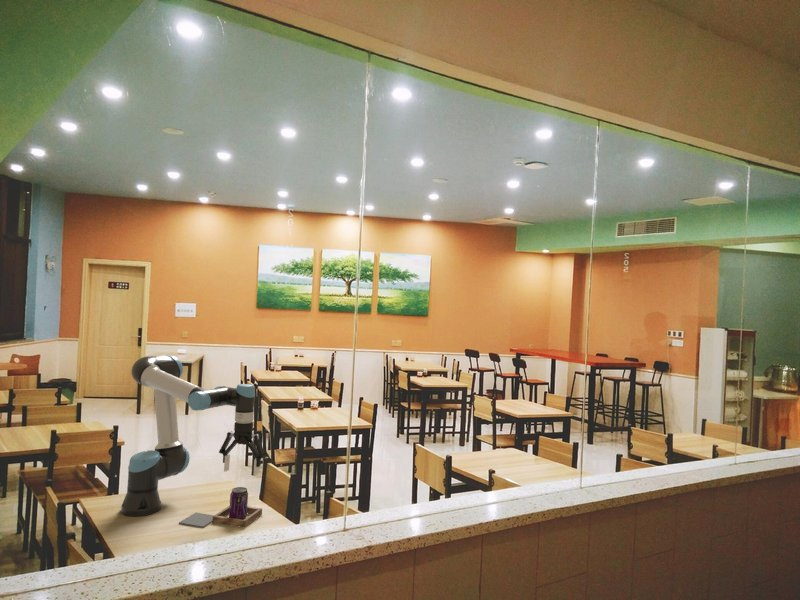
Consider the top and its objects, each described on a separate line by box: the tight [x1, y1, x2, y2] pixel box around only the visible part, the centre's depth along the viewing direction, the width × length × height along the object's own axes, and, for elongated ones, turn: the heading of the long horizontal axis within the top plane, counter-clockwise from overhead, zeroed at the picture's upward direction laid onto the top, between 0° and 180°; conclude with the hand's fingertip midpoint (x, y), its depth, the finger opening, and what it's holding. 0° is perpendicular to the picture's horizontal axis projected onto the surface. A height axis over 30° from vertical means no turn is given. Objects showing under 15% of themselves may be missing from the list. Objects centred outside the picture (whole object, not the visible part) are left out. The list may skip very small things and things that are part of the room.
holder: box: [211, 505, 263, 528], centre depth 213 cm, size 14×14×2 cm
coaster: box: [178, 512, 215, 529], centre depth 209 cm, size 11×11×1 cm
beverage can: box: [228, 486, 249, 520], centre depth 213 cm, size 7×7×12 cm
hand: (241, 472), depth 214 cm, fingers open, 13 cm apart
